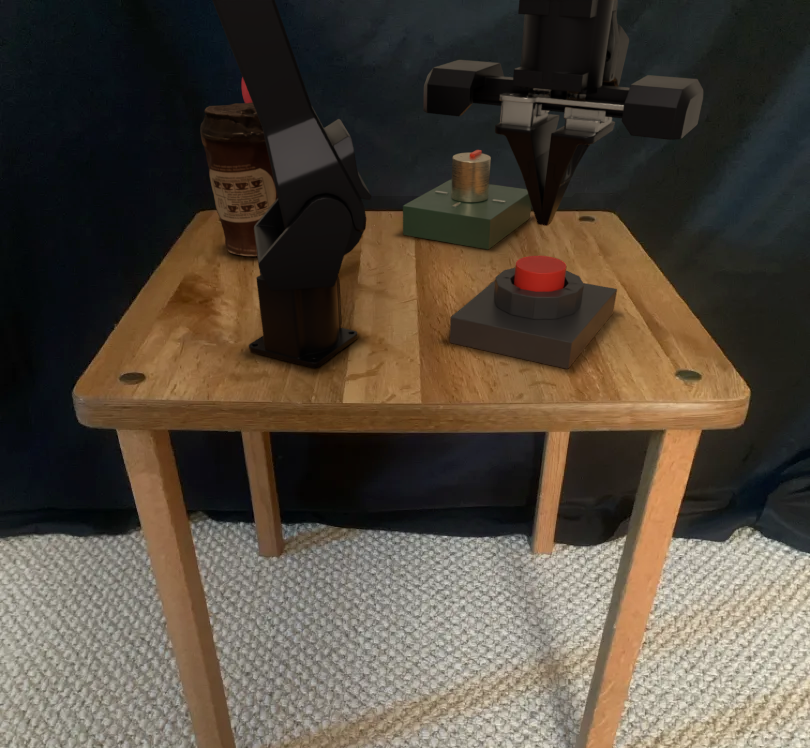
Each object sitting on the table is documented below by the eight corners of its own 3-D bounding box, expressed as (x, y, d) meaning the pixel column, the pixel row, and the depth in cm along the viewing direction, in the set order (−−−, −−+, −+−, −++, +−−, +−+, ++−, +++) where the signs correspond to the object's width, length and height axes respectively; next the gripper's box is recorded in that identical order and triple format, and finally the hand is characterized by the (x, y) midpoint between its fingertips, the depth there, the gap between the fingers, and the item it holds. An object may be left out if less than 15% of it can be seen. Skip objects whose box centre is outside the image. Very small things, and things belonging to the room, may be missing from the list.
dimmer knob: (479, 204, 83) (481, 160, 80) (444, 199, 84) (446, 155, 82) (494, 195, 86) (497, 152, 83) (460, 190, 87) (462, 147, 84)
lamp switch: (568, 369, 60) (575, 319, 57) (449, 342, 63) (451, 294, 61) (613, 313, 68) (621, 267, 66) (505, 292, 72) (509, 248, 69)
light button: (553, 298, 61) (556, 276, 60) (506, 289, 63) (508, 267, 62) (570, 281, 64) (573, 260, 63) (524, 273, 66) (526, 252, 65)
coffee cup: (285, 266, 77) (271, 118, 69) (204, 261, 78) (181, 114, 70) (308, 237, 84) (297, 99, 76) (233, 233, 85) (215, 97, 77)
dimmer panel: (488, 249, 81) (490, 217, 79) (402, 234, 84) (402, 204, 82) (530, 218, 89) (533, 188, 87) (450, 205, 93) (451, 177, 91)
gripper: (743, -28, 53) (690, 213, 63) (488, -36, 60) (476, 183, 69) (710, -17, 45) (655, 256, 55) (421, -28, 52) (418, 217, 62)
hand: (544, 223), depth 61 cm, fingers closed
